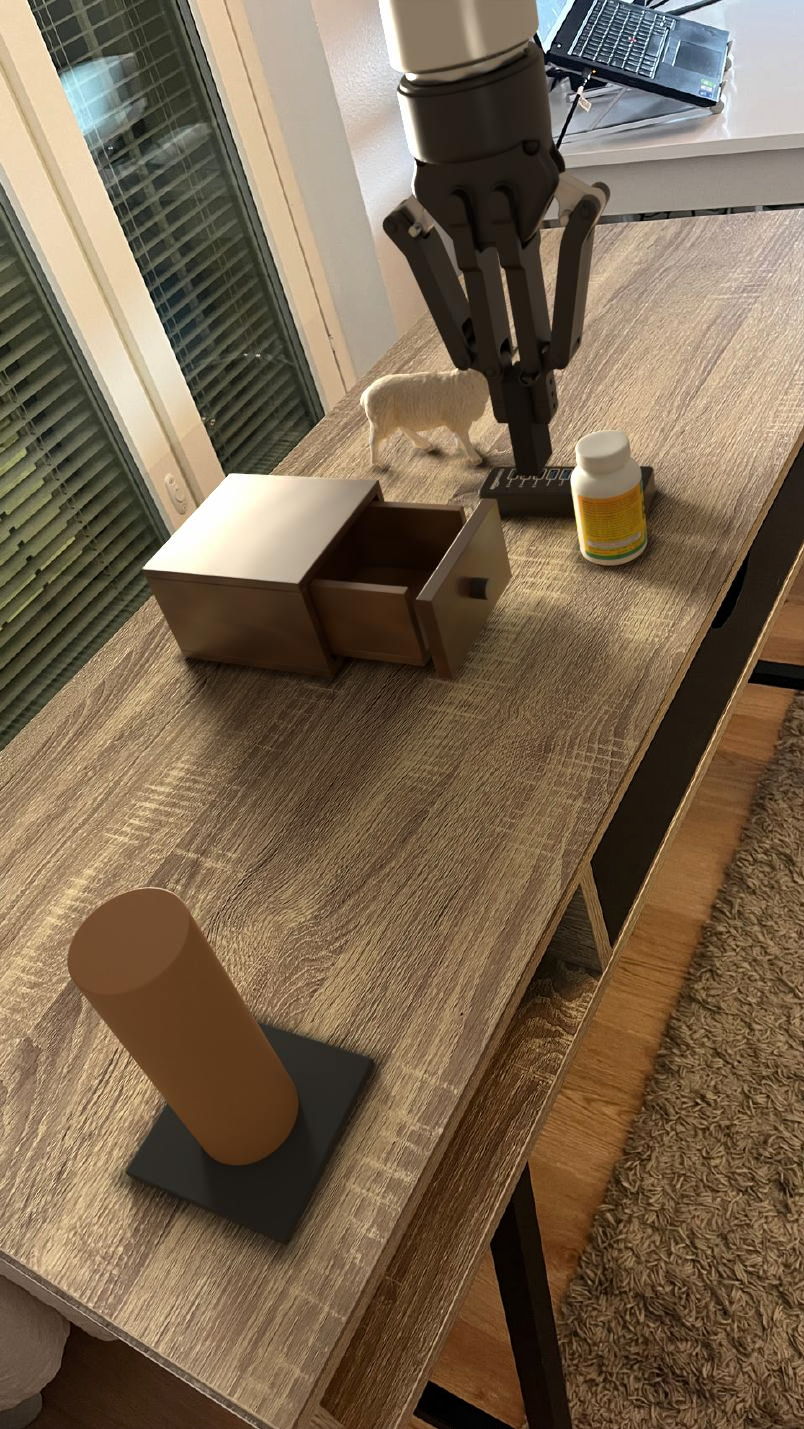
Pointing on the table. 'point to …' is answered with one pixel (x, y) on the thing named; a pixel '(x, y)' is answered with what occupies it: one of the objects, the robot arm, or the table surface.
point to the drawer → (412, 583)
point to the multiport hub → (543, 491)
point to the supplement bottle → (608, 499)
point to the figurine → (425, 407)
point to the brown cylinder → (184, 1023)
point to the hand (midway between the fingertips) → (535, 464)
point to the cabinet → (256, 570)
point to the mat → (282, 1179)
